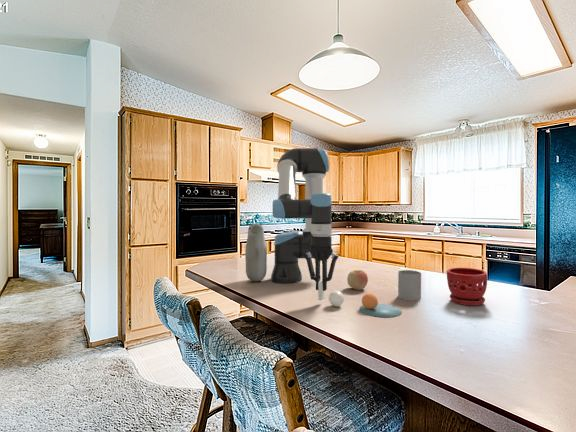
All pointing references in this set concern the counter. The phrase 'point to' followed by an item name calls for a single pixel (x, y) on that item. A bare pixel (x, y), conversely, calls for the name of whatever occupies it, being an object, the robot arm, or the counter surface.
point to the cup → (409, 285)
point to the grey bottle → (256, 253)
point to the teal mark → (382, 311)
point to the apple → (357, 279)
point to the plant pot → (467, 285)
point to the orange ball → (369, 301)
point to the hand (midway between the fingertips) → (321, 299)
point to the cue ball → (336, 298)
